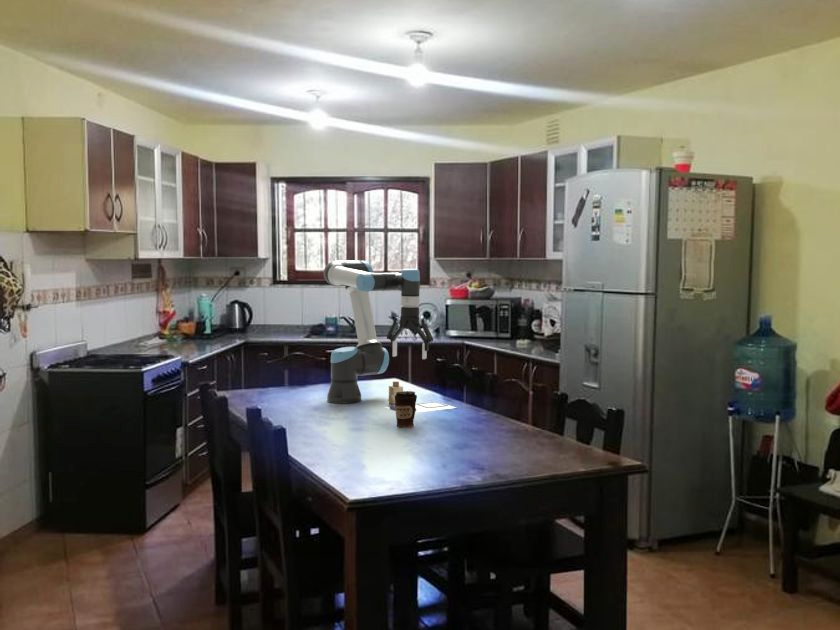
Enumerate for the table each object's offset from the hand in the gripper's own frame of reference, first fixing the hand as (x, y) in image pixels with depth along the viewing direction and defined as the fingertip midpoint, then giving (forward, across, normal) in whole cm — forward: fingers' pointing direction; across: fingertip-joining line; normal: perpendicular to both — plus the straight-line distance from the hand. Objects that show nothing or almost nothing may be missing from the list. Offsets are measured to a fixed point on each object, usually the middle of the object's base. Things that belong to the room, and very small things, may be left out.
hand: (409, 357), depth 317 cm
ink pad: (+22, -1, -3) cm, 22 cm away
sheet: (+22, +3, +5) cm, 23 cm away
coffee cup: (+21, +13, -30) cm, 39 cm away
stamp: (+22, -10, +8) cm, 25 cm away
